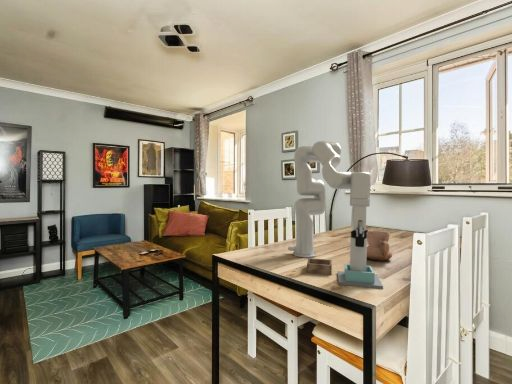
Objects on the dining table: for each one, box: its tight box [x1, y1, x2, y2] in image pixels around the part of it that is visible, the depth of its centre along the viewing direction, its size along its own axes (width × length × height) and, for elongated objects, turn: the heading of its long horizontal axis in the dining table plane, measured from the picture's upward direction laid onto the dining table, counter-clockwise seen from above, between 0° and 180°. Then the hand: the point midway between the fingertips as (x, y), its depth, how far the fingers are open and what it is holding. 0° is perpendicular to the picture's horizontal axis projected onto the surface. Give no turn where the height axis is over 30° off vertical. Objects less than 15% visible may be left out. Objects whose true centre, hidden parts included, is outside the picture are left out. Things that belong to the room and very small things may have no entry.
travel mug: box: [349, 229, 369, 272], centre depth 112 cm, size 6×7×20 cm
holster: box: [306, 257, 333, 276], centre depth 125 cm, size 11×10×4 cm
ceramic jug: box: [367, 230, 393, 262], centre depth 144 cm, size 18×14×14 cm
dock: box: [337, 263, 384, 290], centre depth 112 cm, size 16×14×5 cm
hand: (358, 243), depth 112 cm, fingers open, 9 cm apart
